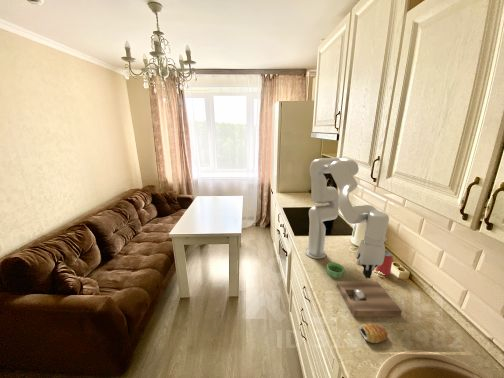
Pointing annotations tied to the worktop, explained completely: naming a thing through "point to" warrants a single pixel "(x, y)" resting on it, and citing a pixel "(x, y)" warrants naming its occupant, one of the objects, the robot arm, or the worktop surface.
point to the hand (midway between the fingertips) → (366, 276)
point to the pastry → (373, 333)
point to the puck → (358, 295)
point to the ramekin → (336, 267)
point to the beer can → (386, 264)
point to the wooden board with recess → (368, 300)
